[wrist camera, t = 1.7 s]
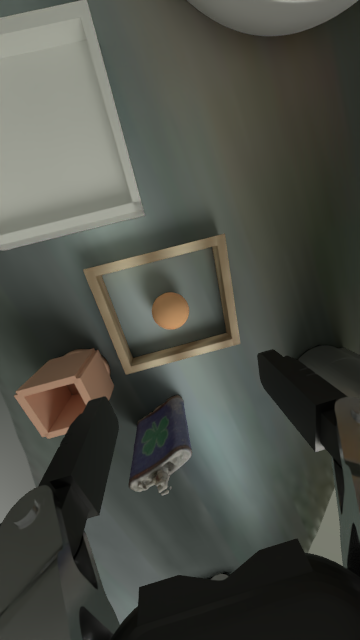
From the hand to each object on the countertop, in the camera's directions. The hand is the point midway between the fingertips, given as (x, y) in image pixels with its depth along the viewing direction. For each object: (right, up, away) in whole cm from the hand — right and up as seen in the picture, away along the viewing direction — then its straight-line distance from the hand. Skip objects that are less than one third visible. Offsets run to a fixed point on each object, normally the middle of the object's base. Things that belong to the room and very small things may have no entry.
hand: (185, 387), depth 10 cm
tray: (-14, +20, +9) cm, 25 cm away
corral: (-2, +5, +15) cm, 16 cm away
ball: (-1, +5, +13) cm, 14 cm away
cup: (-14, -4, +17) cm, 22 cm away
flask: (-4, -12, +21) cm, 24 cm away
